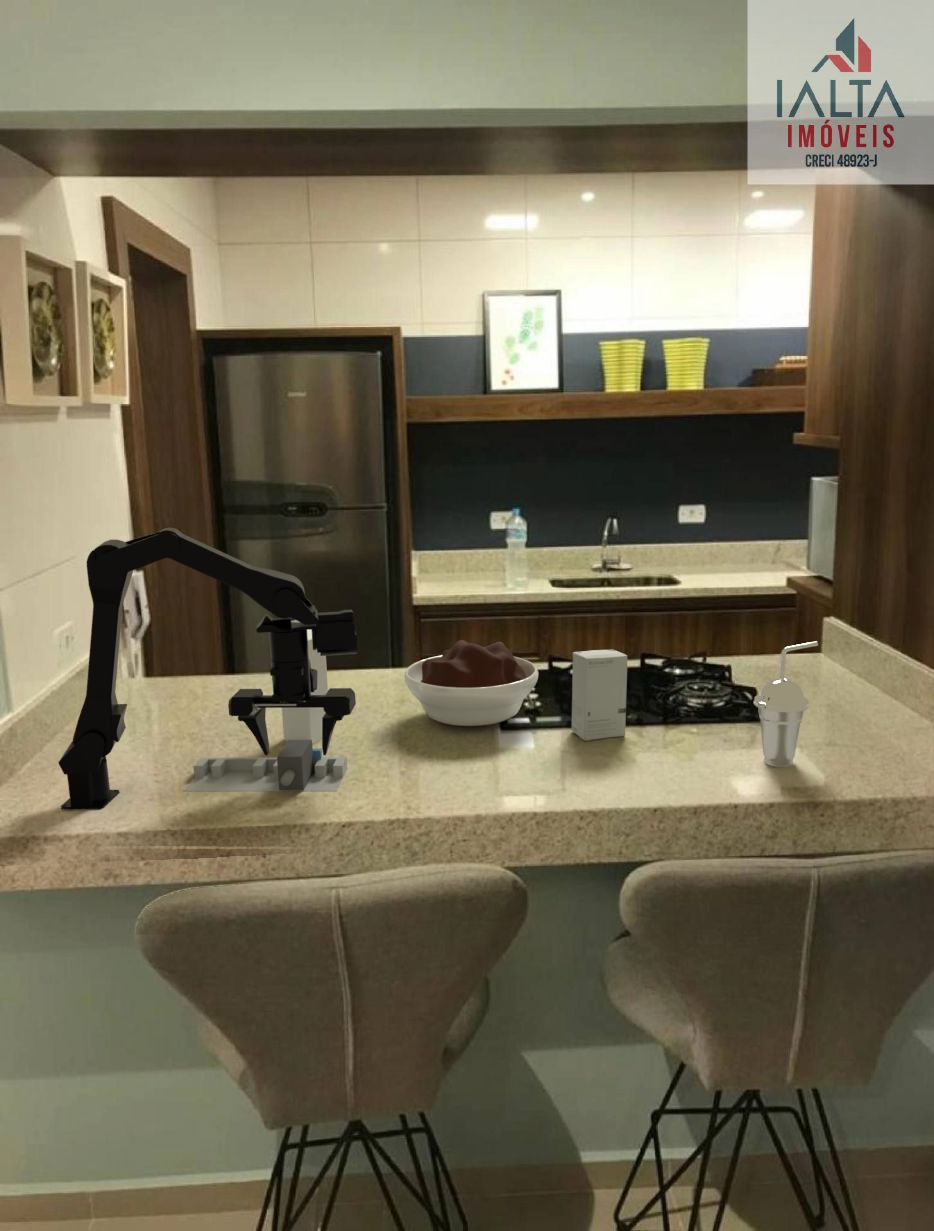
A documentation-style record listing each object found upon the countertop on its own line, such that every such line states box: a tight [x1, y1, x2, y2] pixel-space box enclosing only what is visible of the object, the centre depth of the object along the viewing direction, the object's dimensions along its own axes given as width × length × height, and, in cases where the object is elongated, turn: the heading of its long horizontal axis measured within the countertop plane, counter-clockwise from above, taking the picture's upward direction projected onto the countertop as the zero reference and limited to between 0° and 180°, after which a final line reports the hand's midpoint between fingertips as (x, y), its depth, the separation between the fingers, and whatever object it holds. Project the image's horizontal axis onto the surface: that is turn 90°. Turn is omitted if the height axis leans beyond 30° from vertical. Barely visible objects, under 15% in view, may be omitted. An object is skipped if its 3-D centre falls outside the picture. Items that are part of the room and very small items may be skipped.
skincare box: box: [571, 649, 628, 742], centre depth 166 cm, size 8×6×15 cm
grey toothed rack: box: [182, 747, 348, 792], centre depth 149 cm, size 9×24×4 cm, turn 87°
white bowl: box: [403, 639, 539, 727], centre depth 176 cm, size 25×25×15 cm
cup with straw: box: [753, 640, 819, 768], centre depth 150 cm, size 8×9×20 cm
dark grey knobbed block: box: [276, 740, 314, 790], centre depth 147 cm, size 10×4×6 cm, turn 177°
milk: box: [281, 619, 329, 745], centre depth 167 cm, size 6×6×22 cm
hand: (296, 754), depth 148 cm, fingers open, 9 cm apart
